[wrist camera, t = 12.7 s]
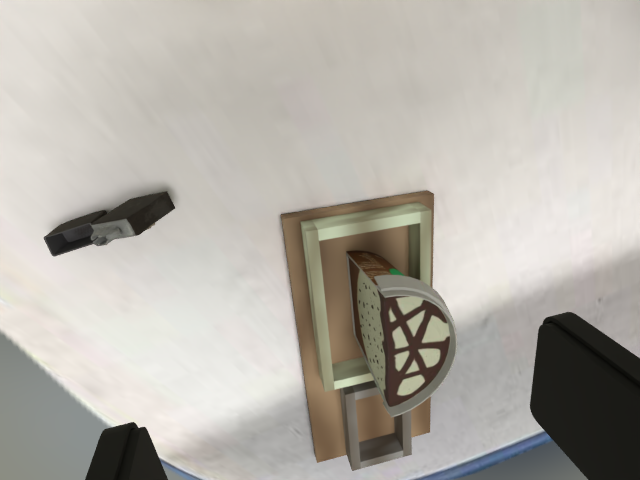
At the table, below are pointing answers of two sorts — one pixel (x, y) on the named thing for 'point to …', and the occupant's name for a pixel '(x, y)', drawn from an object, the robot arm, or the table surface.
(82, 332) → the table surface
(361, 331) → the food container
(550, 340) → the robot arm
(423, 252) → the fitting board
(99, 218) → the lighter
